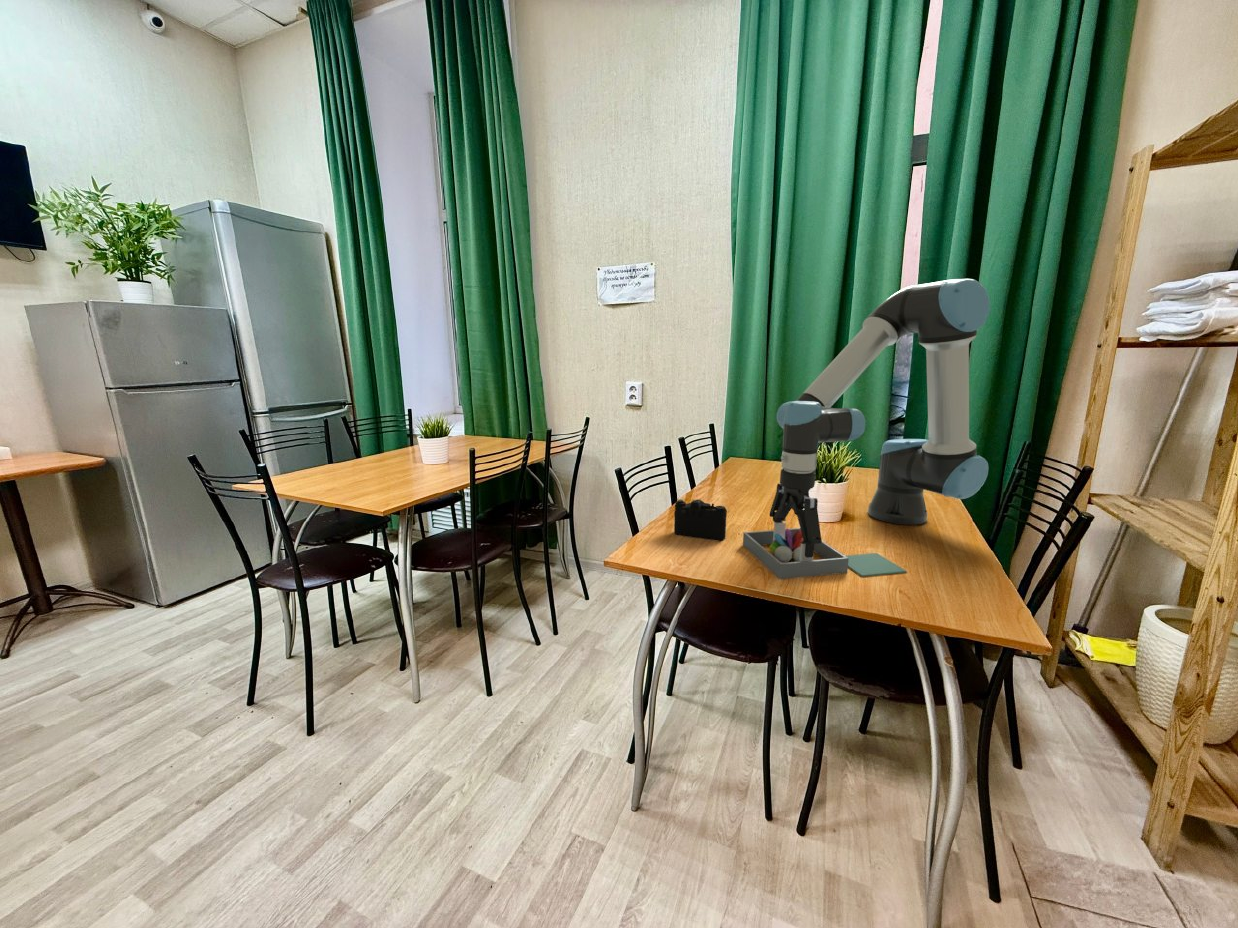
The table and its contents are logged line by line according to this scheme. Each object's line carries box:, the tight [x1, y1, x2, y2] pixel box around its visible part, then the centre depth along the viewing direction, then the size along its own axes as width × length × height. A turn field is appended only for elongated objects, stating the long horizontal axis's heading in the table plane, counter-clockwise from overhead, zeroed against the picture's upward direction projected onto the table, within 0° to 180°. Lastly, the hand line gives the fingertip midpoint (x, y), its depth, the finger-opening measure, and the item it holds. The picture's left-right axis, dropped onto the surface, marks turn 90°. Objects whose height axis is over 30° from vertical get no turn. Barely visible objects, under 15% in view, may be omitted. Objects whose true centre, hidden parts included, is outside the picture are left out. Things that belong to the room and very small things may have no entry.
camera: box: [673, 499, 728, 542], centre depth 132 cm, size 14×11×10 cm
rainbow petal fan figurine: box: [769, 528, 804, 563], centre depth 116 cm, size 8×10×7 cm
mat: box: [845, 552, 907, 578], centre depth 112 cm, size 11×10×1 cm
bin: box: [742, 527, 849, 580], centre depth 116 cm, size 16×19×4 cm
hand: (791, 557), depth 116 cm, fingers open, 12 cm apart
